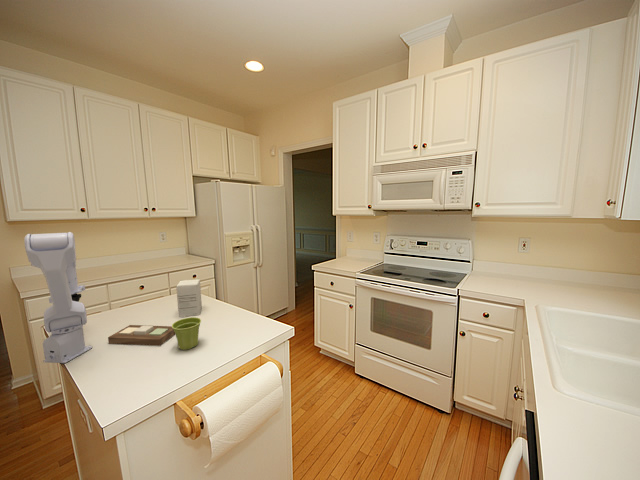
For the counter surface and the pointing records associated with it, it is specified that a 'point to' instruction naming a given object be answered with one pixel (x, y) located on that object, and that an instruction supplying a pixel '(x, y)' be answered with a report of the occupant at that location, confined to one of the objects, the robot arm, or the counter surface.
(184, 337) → the plant pot
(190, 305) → the supplement box
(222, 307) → the counter surface
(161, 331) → the sage key
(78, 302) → the robot arm
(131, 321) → the counter surface
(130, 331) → the cream key
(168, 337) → the keypad board
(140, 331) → the ivory key
